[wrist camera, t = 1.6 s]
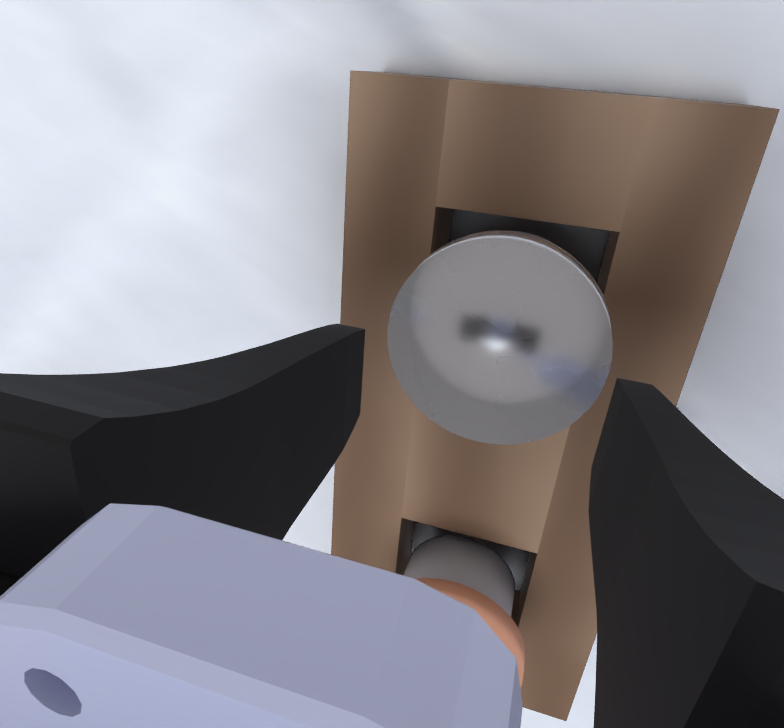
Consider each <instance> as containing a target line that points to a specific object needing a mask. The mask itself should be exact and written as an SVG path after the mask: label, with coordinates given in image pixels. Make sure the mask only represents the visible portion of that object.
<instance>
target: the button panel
mask: <svg viewBox="0 0 784 728" xmlns="http://www.w3.org/2000/svg"><path fill="white" fill-rule="evenodd" d="M778 112H779V109H774V108H767V107H760V106H753V105H744V104H733V103H721V102H710V101H699V100H688V99H677V98H666V97H654V96H643V95H632V94H621V93H610V92H599V91H587V90H576V89H565V88H554V87H543V86H532V85H520V84H509V83H498V82H487V81H476V80H465V79H453V78H442V77H431V76H420V75H409V74H398V73H386V72H369V71H350V96H349V121H348V146H347V171H346V196H345V221H344V247H343V272H342V297H341V322H340V324H341V325H346V326H352V327H357V328H362V329H365V344H364V360H363V377H362V393H361V409H360V416H359V418H358V420H357V422H356V425H355V427H354V429H353V431H352V433H351V435H350V437H349V439H348V441H347V443H346V445H345V447H344V449H343V451H342V453H341V454H340V456H339V457H338V459H337V460H336V462H335V473H334V498H333V523H332V548H331V555H334V556H337V557H341V558H344V559H348V560H351V561H355V562H358V563H362V564H365V565H369V566H372V567H376V568H379V569H383V570H386V571H390V572H393V573H397V574H400V575H404V572H405V570H406V567H407V564H408V561H409V559H410V553H411V545H412V537H413V529H414V521H416V522H420V523H423V524H427V525H431V526H435V527H438V528H442V529H446V530H450V531H454V532H457V533H461V534H465V535H469V536H472V537H476V538H480V539H484V540H488V541H491V542H495V543H499V544H503V545H506V546H510V547H514V548H518V549H522V550H525V551H529V552H530V554H529V558H528V562H527V566H526V570H525V574H524V579H523V583H522V587H521V591H520V592H519V591H515V592H514V599H513V607H512V614H511V618H512V619H513V621H514V622H515V624H516V625H517V627H518V629H519V630H520V632H521V635H522V637H523V640H524V645H525V664H524V674H523V681H522V686H521V688H520V690H521V698H522V707H524V708H527V709H530V710H533V711H536V712H540V713H543V714H546V715H549V716H552V717H555V718H558V719H561V720H564V721H566V720H567V717H568V714H569V712H570V709H571V706H572V703H573V700H574V697H575V694H576V691H577V689H578V686H579V683H580V680H581V677H582V674H583V671H584V669H585V666H586V663H587V660H588V657H589V654H590V651H591V648H592V646H593V643H594V640H595V637H596V634H597V611H596V599H595V587H594V575H593V563H592V551H591V538H590V525H589V511H588V509H589V492H590V478H591V467H592V463H593V460H594V456H595V453H596V449H597V446H598V442H599V439H600V435H601V432H602V428H603V425H604V421H605V418H606V414H607V411H608V407H609V404H610V400H611V397H612V394H613V390H614V387H615V383H616V380H617V378H621V379H626V380H631V381H636V382H642V383H647V384H652V385H653V386H654V387H656V388H657V389H658V390H659V391H660V392H661V393H662V394H663V395H664V396H665V397H666V398H667V399H668V400H669V401H670V402H671V403H672V404H673V405H674V406H675V407H676V405H677V402H678V399H679V396H680V393H681V390H682V388H683V385H684V382H685V379H686V376H687V373H688V370H689V368H690V365H691V362H692V359H693V356H694V353H695V350H696V347H697V345H698V342H699V339H700V336H701V333H702V330H703V327H704V325H705V322H706V319H707V316H708V313H709V310H710V307H711V304H712V302H713V299H714V296H715V293H716V290H717V287H718V284H719V282H720V279H721V276H722V273H723V270H724V267H725V264H726V261H727V259H728V256H729V253H730V250H731V247H732V244H733V241H734V239H735V236H736V233H737V230H738V227H739V224H740V221H741V218H742V216H743V213H744V210H745V207H746V204H747V201H748V198H749V196H750V193H751V190H752V187H753V184H754V181H755V178H756V175H757V173H758V170H759V167H760V164H761V161H762V158H763V155H764V153H765V150H766V147H767V144H768V141H769V138H770V135H771V132H772V130H773V127H774V124H775V121H776V118H777V115H778ZM453 209H458V210H465V211H472V212H480V213H487V214H494V215H501V216H508V217H515V218H522V219H530V220H537V221H544V222H551V223H558V224H565V225H572V226H580V227H587V228H594V229H601V230H608V231H610V233H609V237H608V241H607V245H606V249H605V253H604V257H603V261H602V265H601V269H600V273H599V277H598V281H597V285H598V286H599V288H600V289H601V292H602V294H603V296H604V299H605V301H606V304H607V308H608V311H609V315H610V323H611V332H612V341H613V349H612V361H611V366H610V371H609V374H608V377H607V379H606V382H605V385H604V387H603V389H602V390H601V392H600V394H599V396H598V397H597V399H596V400H595V402H594V403H593V404H592V406H591V407H590V408H589V409H588V410H587V411H586V412H585V413H584V414H583V415H582V416H581V417H580V418H579V419H578V420H576V421H575V422H574V423H572V424H571V425H570V426H568V427H566V428H565V429H563V430H561V431H560V432H558V433H555V434H553V435H551V436H548V437H546V438H543V439H540V440H536V441H533V442H527V443H521V444H507V445H503V444H489V443H484V442H478V441H474V440H471V439H467V438H464V437H462V436H459V435H457V434H454V433H452V432H450V431H448V430H446V429H444V428H443V427H441V426H439V425H438V424H436V423H435V422H433V421H432V420H431V419H429V418H428V417H427V416H426V415H425V414H423V413H422V412H421V411H420V410H419V409H418V408H417V407H416V406H415V405H414V403H413V402H412V401H411V400H410V399H409V397H408V396H407V395H406V393H405V392H404V390H403V389H402V387H401V385H400V383H399V381H398V380H397V378H396V375H395V373H394V370H393V368H392V364H391V360H390V356H389V350H388V342H387V337H388V323H389V316H390V313H391V310H392V306H393V303H394V301H395V299H396V297H397V295H398V292H399V291H400V289H401V288H402V286H403V284H404V283H405V281H406V280H407V279H408V278H409V277H410V275H411V274H412V273H413V272H414V271H415V270H416V269H417V267H418V266H419V265H420V264H421V263H422V262H423V261H424V260H425V259H426V258H427V257H428V256H430V255H431V254H432V253H433V252H434V251H436V250H437V249H439V248H440V247H442V246H443V245H445V244H447V243H449V237H450V229H451V221H452V212H453Z"/></svg>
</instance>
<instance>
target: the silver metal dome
mask: <svg viewBox="0 0 784 728" xmlns="http://www.w3.org/2000/svg"><path fill="white" fill-rule="evenodd" d="M387 342H388V350H389V356H390V360H391V364H392V368H393V370H394V373H395V375H396V378H397V380H398V381H399V383H400V385H401V387H402V389H403V390H404V392H405V393H406V395H407V396H408V397H409V399H410V400H411V401H412V402H413V403H414V405H415V406H416V407H417V408H418V409H419V410H420V411H421V412H422V413H423V414H425V415H426V416H427V417H428V418H429V419H431V420H432V421H433V422H435V423H436V424H438V425H439V426H441V427H443V428H444V429H446V430H448V431H450V432H452V433H454V434H457V435H459V436H462V437H464V438H467V439H471V440H474V441H478V442H484V443H489V444H503V445H507V444H521V443H527V442H533V441H536V440H540V439H543V438H546V437H548V436H551V435H553V434H555V433H558V432H560V431H561V430H563V429H565V428H566V427H568V426H570V425H571V424H572V423H574V422H575V421H576V420H578V419H579V418H580V417H581V416H582V415H583V414H584V413H585V412H586V411H587V410H588V409H589V408H590V407H591V406H592V404H593V403H594V402H595V400H596V399H597V397H598V396H599V394H600V392H601V390H602V389H603V387H604V385H605V382H606V379H607V377H608V374H609V371H610V366H611V361H612V349H613V341H612V332H611V323H610V315H609V311H608V308H607V304H606V301H605V299H604V296H603V294H602V292H601V289H600V288H599V286H598V285H597V283H596V281H595V280H594V278H593V277H592V275H591V274H590V273H589V272H588V270H587V269H586V268H585V267H584V266H583V265H582V264H581V263H580V262H579V261H578V260H577V259H576V258H575V257H573V256H572V255H571V254H570V253H568V252H567V251H565V250H564V249H562V248H561V247H559V246H557V245H555V244H554V243H552V242H551V241H549V240H547V239H545V238H543V237H541V236H538V235H536V234H533V233H528V232H523V231H504V230H497V231H484V232H479V233H473V234H469V235H466V236H463V237H460V238H457V239H455V240H453V241H451V242H449V243H447V244H445V245H443V246H442V247H440V248H439V249H437V250H436V251H434V252H433V253H432V254H431V255H430V256H428V257H427V258H426V259H425V260H424V261H423V262H422V263H421V264H420V265H419V266H418V267H417V269H416V270H415V271H414V272H413V273H412V274H411V275H410V277H409V278H408V279H407V280H406V281H405V283H404V284H403V286H402V288H401V289H400V291H399V292H398V295H397V297H396V299H395V301H394V303H393V306H392V310H391V313H390V316H389V323H388V337H387Z"/></svg>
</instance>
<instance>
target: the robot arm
mask: <svg viewBox="0 0 784 728" xmlns="http://www.w3.org/2000/svg"><path fill="white" fill-rule="evenodd" d="M364 344H365V329H362V328H357V327H352V326H346V325H341V324H333V325H327V326H324V327H320V328H316V329H313V330H310V331H307V332H304V333H300V334H297V335H294V336H291V337H288V338H285V339H282V340H279V341H276V342H273V343H269V344H266V345H263V346H259V347H256V348H252V349H248V350H245V351H241V352H238V353H234V354H231V355H227V356H223V357H219V358H215V359H210V360H205V361H200V362H195V363H189V364H184V365H178V366H172V367H165V368H156V369H147V370H137V371H128V372H119V373H103V374H79V375H28V374H1V373H0V728H520V725H521V715H522V698H521V690H520V682H519V674H518V666H517V659H516V657H515V656H514V655H513V654H512V652H511V651H510V650H509V649H508V648H507V647H506V645H505V644H504V643H503V642H502V641H501V640H500V638H499V637H498V636H497V635H496V634H495V633H494V631H493V630H492V629H491V628H490V627H489V626H488V625H487V623H486V622H485V621H484V620H483V619H482V618H481V616H480V615H479V614H478V613H477V612H476V611H475V610H474V609H473V608H471V607H470V606H468V605H466V604H464V603H462V602H460V601H458V600H456V599H454V598H452V597H450V596H448V595H446V594H444V593H442V592H440V591H438V590H436V589H434V588H432V587H430V586H428V585H426V584H424V583H422V582H420V581H418V580H416V579H414V578H411V577H407V576H404V575H400V574H397V573H393V572H390V571H386V570H383V569H379V568H376V567H372V566H369V565H365V564H362V563H358V562H355V561H351V560H348V559H344V558H341V557H337V556H334V555H331V554H327V553H324V552H320V551H317V550H313V549H310V548H306V547H303V546H299V545H296V544H292V543H289V542H285V541H282V540H283V538H284V536H285V535H286V533H287V532H288V530H289V528H290V527H291V525H292V524H293V522H294V521H295V520H296V518H297V517H298V515H299V514H300V512H301V511H302V509H303V508H304V507H305V505H306V504H307V502H308V501H309V499H310V498H311V496H312V495H313V494H314V492H315V491H316V489H317V488H318V486H319V485H320V484H321V482H322V481H323V479H324V478H325V476H326V475H327V473H328V472H329V470H330V469H331V467H332V466H333V465H334V463H335V462H336V460H337V459H338V457H339V456H340V454H341V453H342V451H343V449H344V447H345V445H346V443H347V441H348V439H349V437H350V435H351V433H352V431H353V429H354V427H355V425H356V422H357V420H358V418H359V416H360V409H361V393H362V377H363V360H364ZM588 511H589V525H590V538H591V551H592V563H593V575H594V587H595V599H596V611H597V662H596V691H595V712H594V728H784V499H782V498H781V497H780V496H778V495H777V494H775V493H774V492H772V491H771V490H770V489H768V488H767V487H765V486H764V485H763V484H761V483H760V482H759V481H757V480H756V479H755V478H754V477H752V476H751V475H750V474H748V473H747V472H746V471H745V470H744V469H742V468H741V467H740V466H739V465H738V464H736V463H735V462H734V461H733V460H732V459H731V458H729V457H728V456H727V455H726V454H725V453H723V452H722V451H721V450H720V449H719V448H718V447H717V446H716V445H715V444H713V443H712V442H711V441H710V440H709V439H708V438H707V437H706V436H705V435H704V434H703V433H702V432H701V431H700V430H699V429H697V428H696V427H695V426H694V425H693V424H692V423H691V422H690V421H689V420H688V419H687V418H686V417H685V416H684V415H683V414H682V413H681V412H680V411H679V410H678V409H677V408H676V407H675V406H674V405H673V404H672V403H671V402H670V401H669V400H668V399H667V398H666V397H665V396H664V395H663V394H662V393H661V392H660V391H659V390H658V389H657V388H656V387H654V386H653V385H652V384H647V383H642V382H636V381H631V380H626V379H621V378H617V380H616V383H615V387H614V390H613V394H612V397H611V400H610V404H609V407H608V411H607V414H606V418H605V421H604V425H603V428H602V432H601V435H600V439H599V442H598V446H597V449H596V453H595V456H594V460H593V463H592V467H591V478H590V492H589V509H588Z"/></svg>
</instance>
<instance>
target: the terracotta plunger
mask: <svg viewBox="0 0 784 728" xmlns="http://www.w3.org/2000/svg"><path fill="white" fill-rule="evenodd" d="M404 576H407V577H411V578H414V579H416V580H418V581H420V582H422V583H424V584H426V585H428V586H430V587H432V588H434V589H436V590H438V591H440V592H442V593H444V594H446V595H448V596H450V597H452V598H454V599H456V600H458V601H460V602H462V603H464V604H466V605H468V606H470V607H471V608H473V609H474V610H475V611H476V612H477V613H478V614H479V615H480V616H481V618H482V619H483V620H484V621H485V622H486V623H487V625H488V626H489V627H490V628H491V629H492V630H493V631H494V633H495V634H496V635H497V636H498V637H499V638H500V640H501V641H502V642H503V643H504V644H505V645H506V647H507V648H508V649H509V650H510V651H511V652H512V654H513V655H514V656H515V657H516V659H517V666H518V674H519V682H520V688H521V686H522V681H523V674H524V664H525V645H524V640H523V637H522V635H521V632H520V630H519V629H518V627H517V625H516V624H515V622H514V621H513V619H512V618H511V614H512V607H513V599H514V592H515V582H514V577H513V574H512V572H511V570H510V568H509V566H508V565H507V564H506V562H505V561H504V560H503V559H502V558H501V557H500V556H499V555H498V554H497V553H496V552H495V551H493V550H492V549H491V548H489V547H487V546H486V545H484V544H482V543H480V542H477V541H475V540H472V539H469V538H465V537H460V536H439V537H434V538H431V539H428V540H426V541H424V542H423V543H421V544H420V545H419V546H417V547H416V549H415V550H414V551H413V553H412V554H411V556H410V559H409V561H408V564H407V567H406V570H405V572H404Z"/></svg>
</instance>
